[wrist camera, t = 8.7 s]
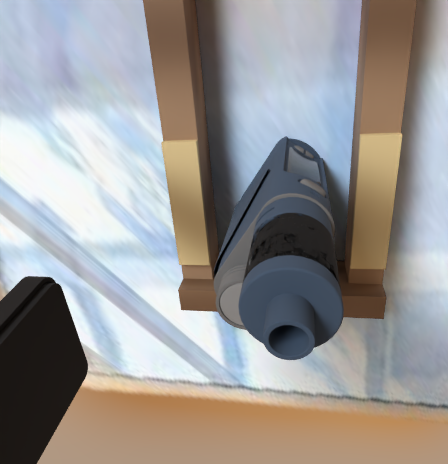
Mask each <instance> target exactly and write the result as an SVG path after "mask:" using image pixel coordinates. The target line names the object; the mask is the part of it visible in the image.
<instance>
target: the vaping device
mask: <svg viewBox="0 0 448 464" xmlns="http://www.w3.org/2000/svg"><path fill="white" fill-rule="evenodd" d="M334 235H335V225H334V221H333V218H332V212H331V206H330V200H329V195H328V189H327V183H326V176H325V170H324V164H323V158H322V159H320V158H319V156H318V154H317V152H316V151H315V150H314V149H313V148H312V147H311V146H309V145H308V144H306V143H304V142H302V141H300V140H296V139H288V138H287V137H284V138H282V139H281V140H280V141H279V142H278V143H277V144H276V146H275V147H274V149H273V150H272V152H271V153H270V155H269V156H268V158H267V159H266V161H265V162H264V164H263V165H262V167H261V169H260V170H259V172H258V173H257V175H256V176H255V178H254V179H253V181H252V182H251V184H250V185H249V187H248V188H247V190H246V191H245V193H244V195H243V196H242V198H241V200H240V201H239V202H238V203H237V205H236V207H235V210H234V213H233V216H232V219H231V222H230V225H229V227H228V230H227V233H226V236H225V239H224V242H223V245H222V248H221V251H220V254H219V256H218V259H217V262H216V265H215V268H214V290H215V293H216V295H217V296H216V308H217V311H218V313H219V314H220V316H221V317H222V318H223V319H224V320H225V321H226V322H227V323H229V324H230V325H232V326H234V327H237V328H240V329H245V330H247V331H248V332H249V333H250V334H251V335H252V336H253V337H254V338H256V339H257V340H259V341H260V342H262V343H263V344H264V345H265V347H266V349H267V350H268V351H269V352H270V353H271V354H273V355H274V356H276V357H278V358H281V359H285V360H297V359H301V358H303V357H305V356H307V355H308V354H310V353H311V351H312V350H313V348H314V347H317V346H320V345H321V344H323V343H325V342H327V341H328V340H329V339H330V338H332V337H333V336H334V334H335V333H336V332H337V331H338V329H339V327H340V325H341V323H342V320H343V314H344V307H343V301H342V294H341V287H340V281H339V274H338V267H337V261H336V254H335V249H334V241H333V238H334ZM338 281H339V282H338Z"/></svg>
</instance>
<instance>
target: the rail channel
mask: <svg viewBox="0 0 448 464" xmlns="http://www.w3.org/2000/svg"><path fill="white" fill-rule="evenodd" d="M416 3H417V0H362V11H361V25H360V40H359V55H358V69H357V84H356V98H355V113H354V128H353V142H352V157H351V171H350V186H349V201H348V215H347V230H346V244H345V259H344V261H337V267H338V274H339V281H340V287H341V294H342V301H343V307H344V314H343V317H353V318H375V319H384V311H385V304H386V295H385V291H384V288H383V285H382V282H383V274H384V269H386V263H387V255H388V247H389V239H390V231H391V223H392V215H393V207H394V199H395V191H396V183H397V175H398V167H399V158H400V150H401V142H402V134H401V126H402V118H403V110H404V102H405V93H406V85H407V77H408V69H409V61H410V52H411V44H412V36H413V28H414V20H415V11H416ZM143 4H144V10H145V17H146V24H147V31H148V38H149V45H150V52H151V58H152V65H153V72H154V79H155V86H156V93H157V100H158V107H159V113H160V120H161V127H162V134H163V142H162V143H161V144H162V150H163V157H164V164H165V171H166V177H167V184H168V191H169V198H170V204H171V211H172V218H173V225H174V231H175V238H176V245H177V252H178V258H179V265H182V272H183V281H182V283H181V285H180V287H179V290H178V291H179V298H180V304H181V310H193V311H216V312H218V311H217V308H216V296H217V295H216V293H215V290H214V268H215V265H216V262H217V259H218V256H219V247H218V236H217V226H216V215H215V205H214V194H213V183H212V173H211V162H210V152H209V141H208V131H207V120H206V109H205V99H204V88H203V78H202V67H201V57H200V46H199V35H198V25H197V14H196V4H195V0H143ZM339 281H338V282H339Z"/></svg>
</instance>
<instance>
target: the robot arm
mask: <svg viewBox="0 0 448 464" xmlns="http://www.w3.org/2000/svg"><path fill="white" fill-rule="evenodd" d="M87 370H88V363H87V360H86V357H85V354H84V351H83V348H82V345H81V342H80V339H79V337H78V334H77V331H76V328H75V325H74V322H73V319H72V316H71V314H70V311H69V308H68V305H67V302H66V299H65V296H64V293H63V291H62V288H61V286H60V285H59V284H57V283H56V282H55V280H54V279H52V278H50V277H33V276H28V277H25V278H23V279H22V280H21V281H20V282H19V283H18V284H17V285H16V286H15V287H14V288H13V289H12V290H11V291H10V292H9V293H8V294H7V295H6V296H5V297H4V298H3V299H2V300H1V301H0V464H37V462H38V460H39V459H40V457H41V455H42V453H43V452H44V450H45V448H46V446H47V445H48V443H49V441H50V439H51V437H52V436H53V434H54V432H55V430H56V429H57V427H58V425H59V423H60V422H61V420H62V418H63V416H64V414H65V413H66V411H67V409H68V407H69V406H70V404H71V402H72V400H73V398H74V397H75V395H76V393H77V392H78V390H79V388H80V386H81V385H82V383H83V381H84V379H85V377H86V375H87Z"/></svg>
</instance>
